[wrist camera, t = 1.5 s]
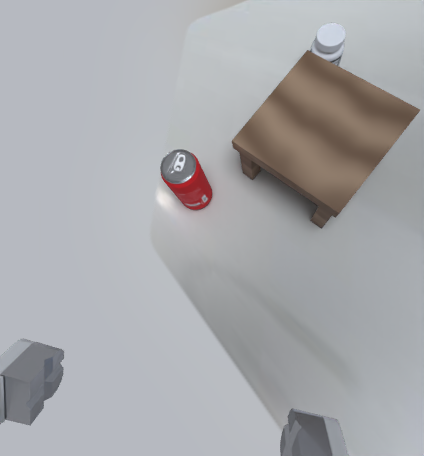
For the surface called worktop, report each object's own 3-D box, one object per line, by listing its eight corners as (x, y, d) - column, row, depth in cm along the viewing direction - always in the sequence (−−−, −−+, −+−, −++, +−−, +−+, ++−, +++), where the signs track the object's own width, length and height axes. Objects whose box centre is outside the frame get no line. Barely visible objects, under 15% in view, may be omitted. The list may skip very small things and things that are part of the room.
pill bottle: (313, 59, 53) (321, 16, 45) (340, 67, 52) (353, 24, 44) (301, 81, 53) (308, 42, 45) (328, 90, 52) (340, 51, 44)
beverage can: (178, 206, 51) (152, 179, 40) (188, 178, 52) (166, 143, 41) (207, 215, 50) (190, 190, 39) (217, 185, 51) (203, 152, 40)
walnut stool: (298, 100, 52) (307, 50, 41) (385, 152, 48) (420, 109, 37) (238, 173, 51) (231, 140, 40) (322, 232, 47) (339, 213, 36)
